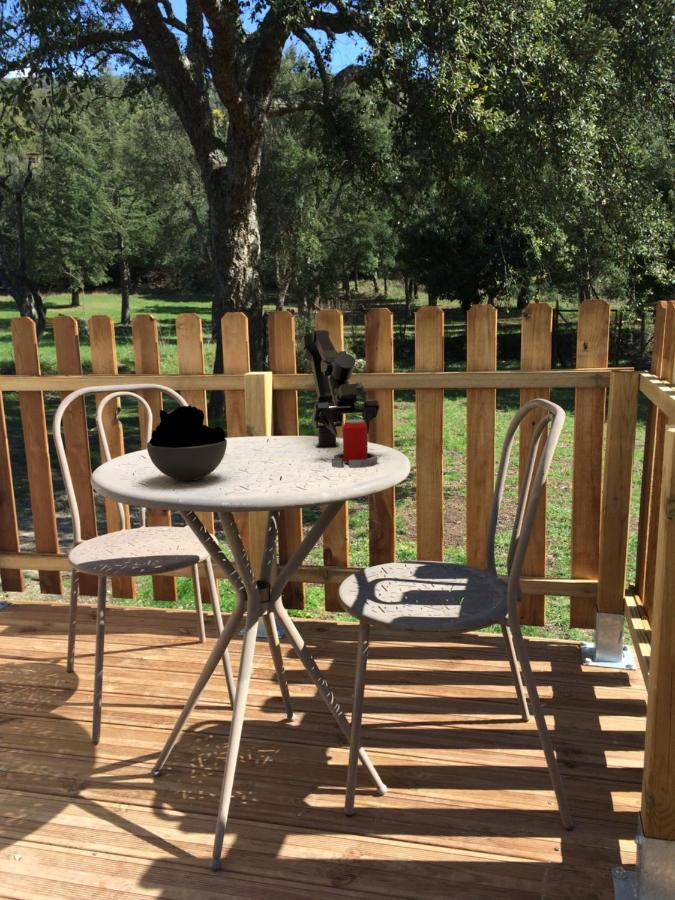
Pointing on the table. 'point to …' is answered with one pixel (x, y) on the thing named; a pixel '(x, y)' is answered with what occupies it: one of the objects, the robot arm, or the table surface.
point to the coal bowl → (186, 445)
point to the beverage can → (354, 440)
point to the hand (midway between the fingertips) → (352, 434)
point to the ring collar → (355, 461)
